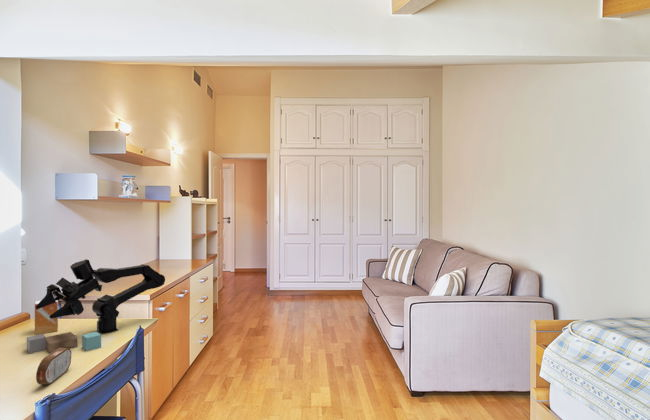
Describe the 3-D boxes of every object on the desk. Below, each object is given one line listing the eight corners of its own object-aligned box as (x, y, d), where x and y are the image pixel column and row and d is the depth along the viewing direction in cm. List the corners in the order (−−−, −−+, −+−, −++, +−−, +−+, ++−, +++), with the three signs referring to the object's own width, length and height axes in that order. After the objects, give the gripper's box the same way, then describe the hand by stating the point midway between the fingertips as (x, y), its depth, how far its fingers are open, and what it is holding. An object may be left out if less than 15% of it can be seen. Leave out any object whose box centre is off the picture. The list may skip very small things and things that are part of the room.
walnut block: (70, 341, 158) (70, 331, 158) (77, 347, 152) (77, 337, 152) (43, 347, 151) (43, 337, 151) (49, 354, 145) (49, 343, 145)
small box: (34, 335, 164) (34, 304, 164) (35, 330, 170) (35, 300, 169) (58, 331, 169) (57, 301, 168) (58, 327, 174) (58, 298, 174)
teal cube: (96, 344, 155) (96, 331, 155) (101, 347, 151) (101, 334, 151) (82, 347, 151) (82, 334, 151) (86, 351, 148) (86, 338, 148)
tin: (63, 368, 133) (63, 343, 133) (73, 368, 133) (73, 343, 133) (34, 389, 118) (34, 362, 118) (46, 389, 118) (45, 362, 118)
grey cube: (42, 346, 152) (42, 333, 152) (46, 350, 148) (46, 337, 148) (26, 350, 148) (26, 337, 148) (29, 354, 145) (29, 340, 145)
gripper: (62, 265, 161) (21, 287, 149) (90, 282, 153) (49, 306, 141) (71, 286, 167) (32, 309, 155) (98, 302, 159) (59, 328, 147)
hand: (42, 312), depth 150 cm, fingers open, 9 cm apart
